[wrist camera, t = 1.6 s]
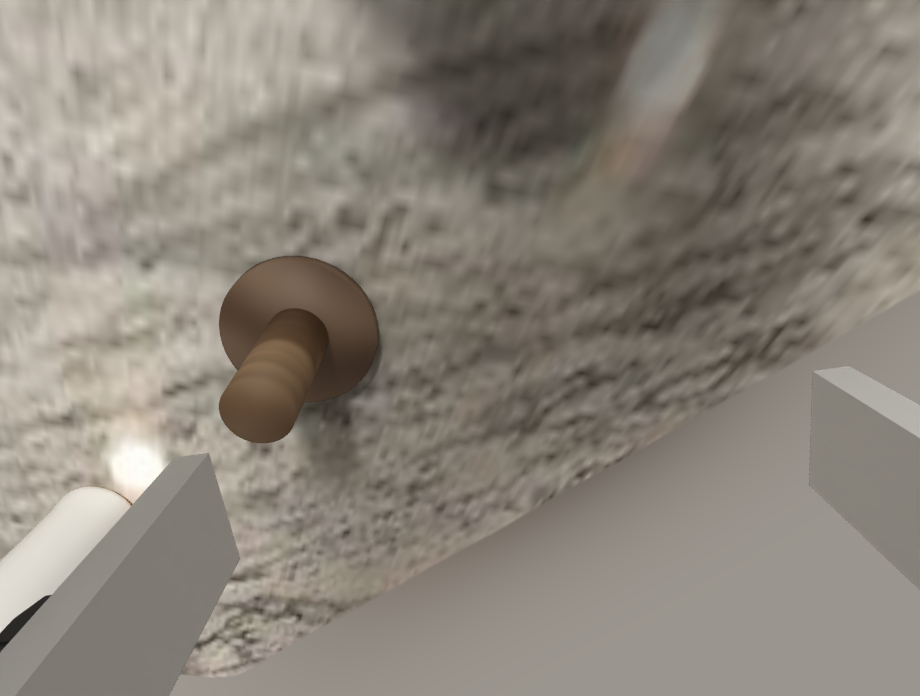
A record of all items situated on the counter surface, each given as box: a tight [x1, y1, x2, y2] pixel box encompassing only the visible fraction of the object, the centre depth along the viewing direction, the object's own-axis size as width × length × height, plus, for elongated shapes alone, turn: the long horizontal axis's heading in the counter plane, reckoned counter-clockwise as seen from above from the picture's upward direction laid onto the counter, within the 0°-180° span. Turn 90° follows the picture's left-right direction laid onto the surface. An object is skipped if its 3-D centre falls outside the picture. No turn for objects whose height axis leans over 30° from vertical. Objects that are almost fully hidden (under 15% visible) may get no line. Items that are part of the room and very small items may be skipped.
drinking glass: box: [0, 486, 131, 633], centre depth 37 cm, size 7×7×15 cm
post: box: [219, 256, 378, 443], centre depth 33 cm, size 9×9×9 cm
